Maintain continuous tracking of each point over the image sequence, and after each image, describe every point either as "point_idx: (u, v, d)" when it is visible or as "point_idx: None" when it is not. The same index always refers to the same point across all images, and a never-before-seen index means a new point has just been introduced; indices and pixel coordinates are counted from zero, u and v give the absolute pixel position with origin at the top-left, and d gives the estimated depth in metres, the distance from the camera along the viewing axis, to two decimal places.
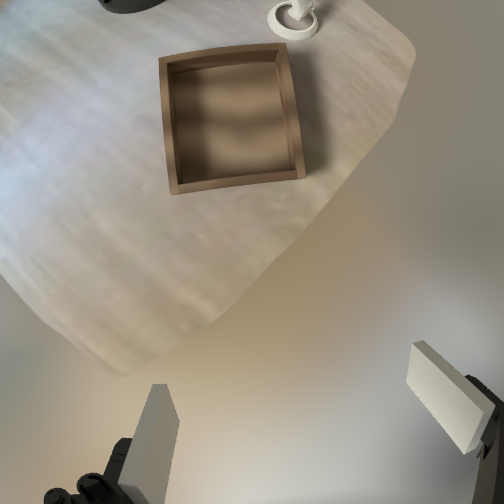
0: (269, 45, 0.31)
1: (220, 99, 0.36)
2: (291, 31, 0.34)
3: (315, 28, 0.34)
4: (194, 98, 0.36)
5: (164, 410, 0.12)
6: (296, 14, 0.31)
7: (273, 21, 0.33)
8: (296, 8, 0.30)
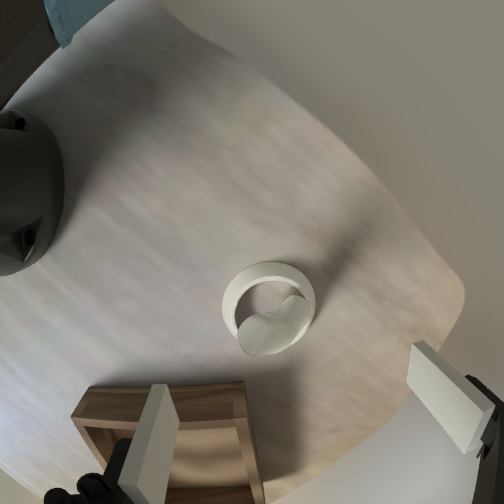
0: (220, 422, 0.21)
1: None
2: None
3: (308, 327, 0.24)
4: (134, 430, 0.25)
5: (164, 410, 0.12)
6: None
7: (231, 328, 0.23)
8: None
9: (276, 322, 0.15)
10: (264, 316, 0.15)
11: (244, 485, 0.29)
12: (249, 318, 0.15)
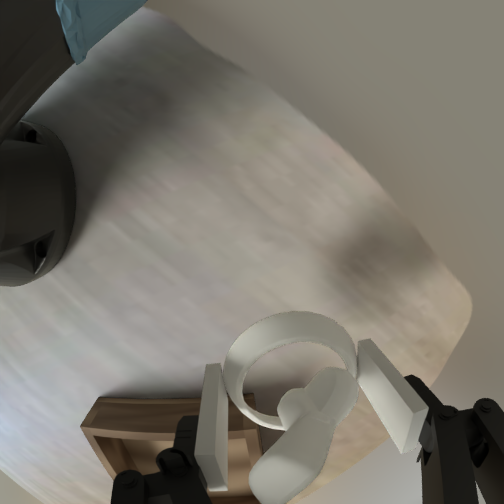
0: (230, 433, 0.21)
1: None
2: (281, 429, 0.15)
3: None
4: (143, 440, 0.25)
5: (221, 387, 0.14)
6: None
7: (237, 404, 0.15)
8: None
9: (322, 461, 0.06)
10: (301, 455, 0.06)
11: (251, 494, 0.28)
12: (273, 459, 0.06)
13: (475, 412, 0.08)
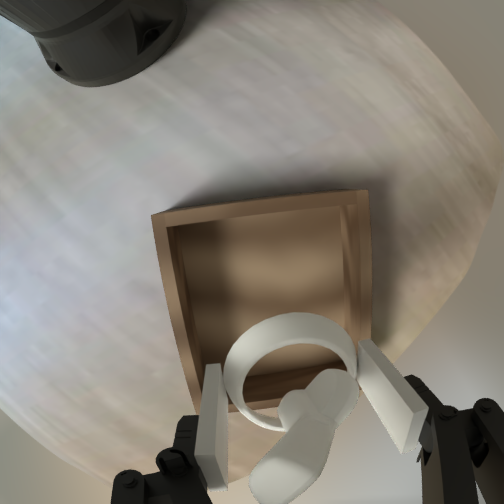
0: (342, 195, 0.21)
1: (255, 269, 0.26)
2: (281, 430, 0.15)
3: None
4: (215, 266, 0.26)
5: (221, 387, 0.14)
6: None
7: (237, 405, 0.15)
8: None
9: (323, 463, 0.06)
10: (302, 457, 0.06)
11: (331, 362, 0.29)
12: (273, 461, 0.06)
13: (475, 412, 0.08)
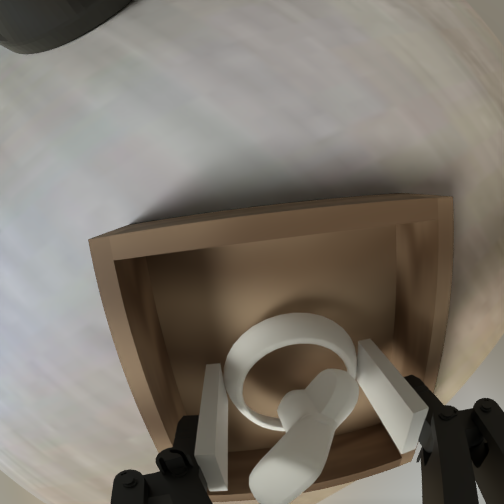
0: (419, 206, 0.11)
1: (267, 317, 0.16)
2: (281, 430, 0.15)
3: None
4: (205, 313, 0.16)
5: (221, 387, 0.14)
6: None
7: (237, 405, 0.15)
8: None
9: (323, 463, 0.06)
10: (301, 457, 0.06)
11: (365, 426, 0.19)
12: (273, 461, 0.06)
13: (475, 412, 0.08)
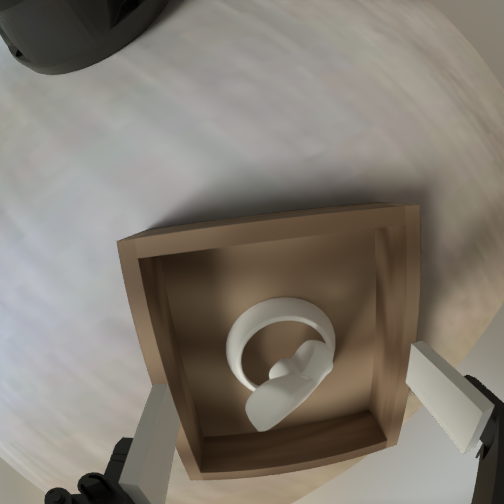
0: (388, 213, 0.14)
1: None
2: None
3: None
4: (210, 305, 0.19)
5: (165, 410, 0.12)
6: None
7: (236, 374, 0.19)
8: None
9: (297, 392, 0.10)
10: (281, 385, 0.10)
11: (354, 412, 0.22)
12: (262, 388, 0.10)
13: None
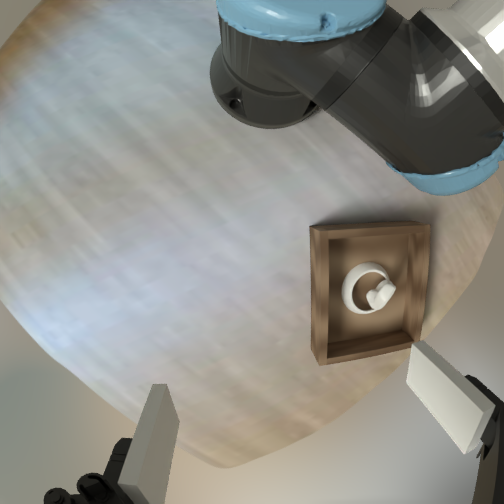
0: (418, 227, 0.35)
1: None
2: (363, 312, 0.39)
3: None
4: (338, 264, 0.40)
5: (164, 410, 0.12)
6: (374, 308, 0.37)
7: (348, 299, 0.39)
8: (377, 308, 0.36)
9: (395, 287, 0.31)
10: (391, 284, 0.31)
11: (394, 330, 0.42)
12: (385, 284, 0.31)
13: None
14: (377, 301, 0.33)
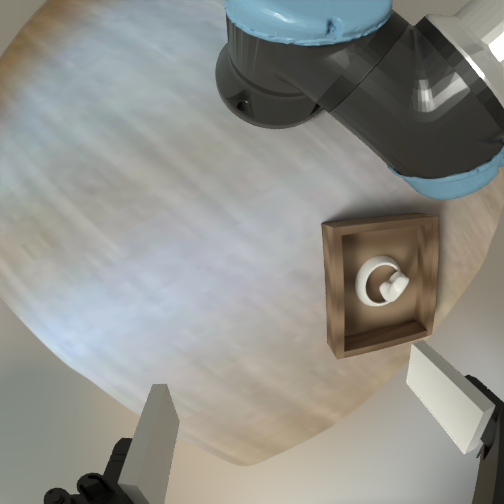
0: (427, 219, 0.35)
1: None
2: (377, 305, 0.40)
3: None
4: (351, 259, 0.40)
5: (164, 410, 0.12)
6: (388, 300, 0.37)
7: (362, 293, 0.40)
8: (391, 300, 0.36)
9: (408, 278, 0.31)
10: (404, 276, 0.31)
11: (407, 321, 0.43)
12: (399, 277, 0.31)
13: None
14: (391, 293, 0.34)
